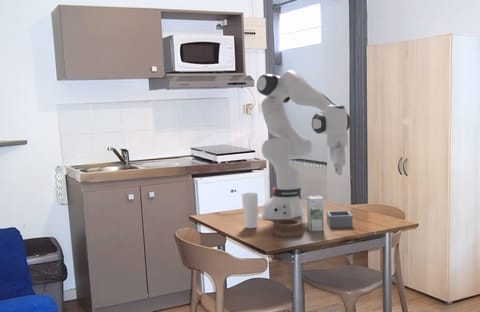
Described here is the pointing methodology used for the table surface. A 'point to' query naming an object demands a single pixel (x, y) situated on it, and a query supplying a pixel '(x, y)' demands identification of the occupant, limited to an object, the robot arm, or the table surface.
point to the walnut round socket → (288, 228)
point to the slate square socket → (339, 219)
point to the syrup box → (315, 213)
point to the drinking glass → (250, 209)
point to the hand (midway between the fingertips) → (338, 173)
